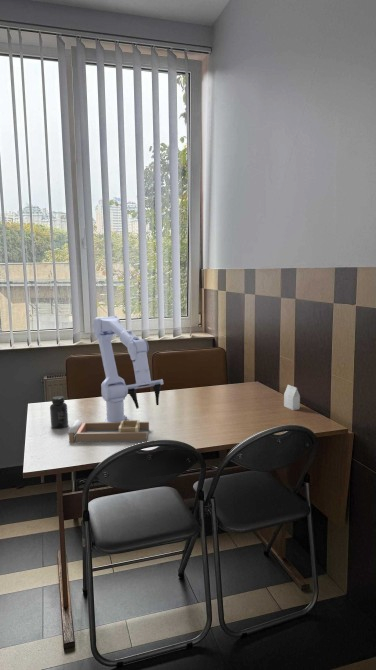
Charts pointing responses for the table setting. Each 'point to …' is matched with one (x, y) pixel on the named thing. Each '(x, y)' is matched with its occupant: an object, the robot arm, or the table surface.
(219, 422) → the table surface
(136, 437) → the bay
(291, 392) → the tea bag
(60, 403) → the supplement bottle
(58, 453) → the table surface
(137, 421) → the crate
